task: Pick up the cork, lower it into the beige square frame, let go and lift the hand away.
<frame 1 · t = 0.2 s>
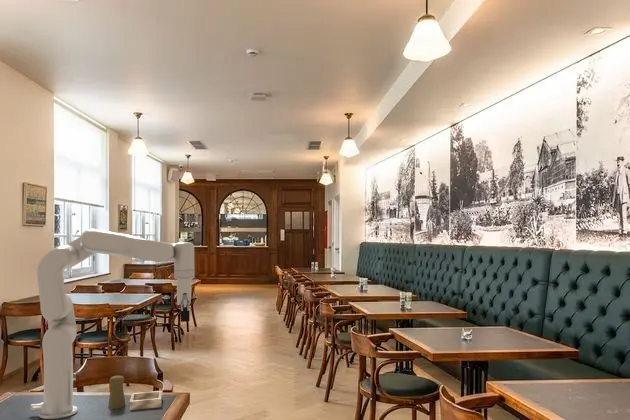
hand: (184, 319, 210), 31 cm above the table, tool pointing down, fingers open, 9 cm apart
cork: (116, 406, 205), on the table
beige square frame: (146, 404, 206), on the table
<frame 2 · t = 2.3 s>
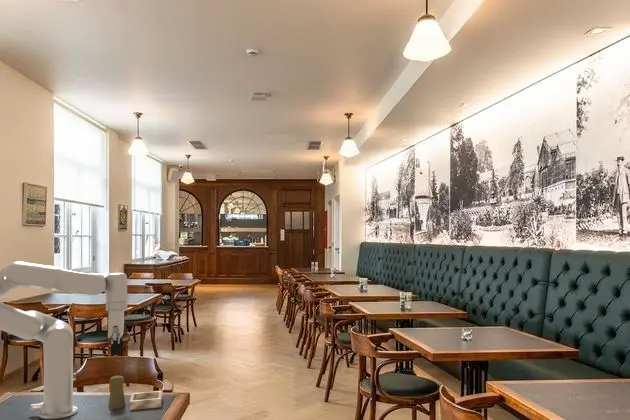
hand: (117, 352, 206), 20 cm above the table, tool pointing down, fingers open, 9 cm apart
nothing on the table moved.
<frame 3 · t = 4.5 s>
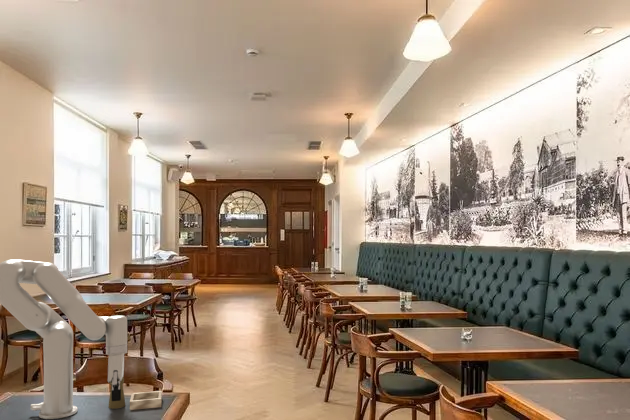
hand: (116, 398, 205), 3 cm above the table, tool pointing down, fingers closed on cork, 4 cm apart
cork: (116, 406, 205), on the table, touching gripper
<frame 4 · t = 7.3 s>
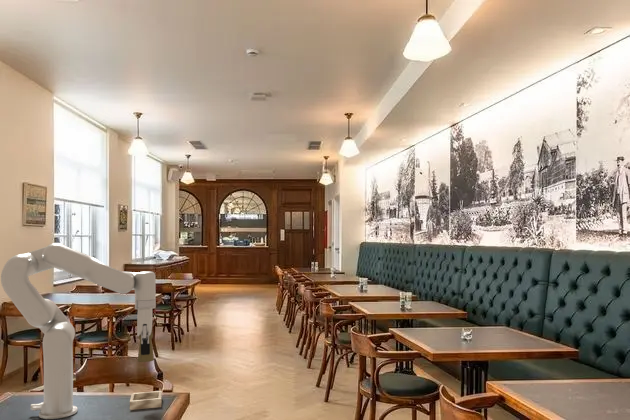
hand: (145, 352, 207), 19 cm above the table, tool pointing down, fingers closed on cork, 4 cm apart
cork: (145, 360, 207), point 16 cm above the table, touching gripper
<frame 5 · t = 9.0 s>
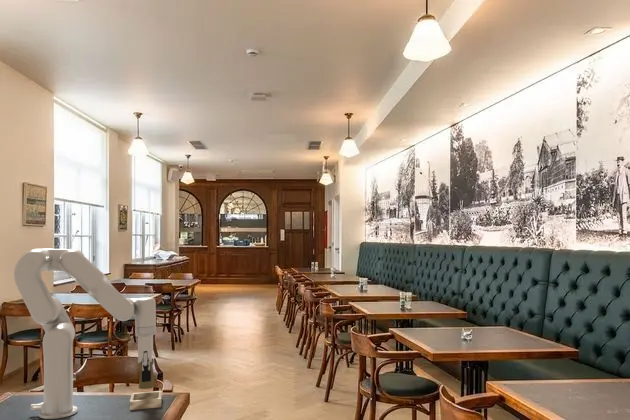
hand: (146, 379, 207), 9 cm above the table, tool pointing down, fingers closed on cork, 4 cm apart
cork: (146, 387, 207), point 6 cm above the table, touching gripper
when the fingers open (4 cm above the table, at t = 10.3 s): cork drops 1 cm, resting in beige square frame.
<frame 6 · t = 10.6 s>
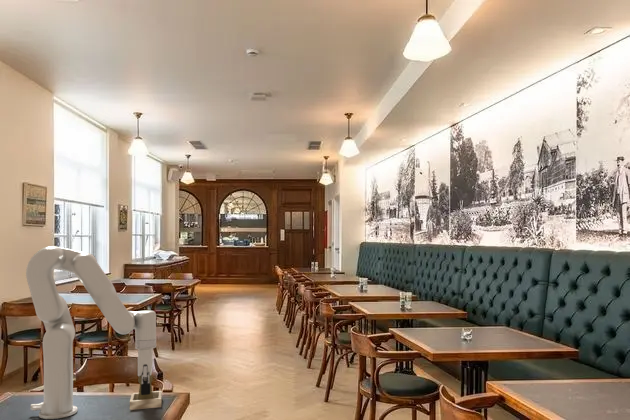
hand: (146, 391, 206), 5 cm above the table, tool pointing down, fingers open, 6 cm apart
cork: (145, 404, 206), resting in beige square frame
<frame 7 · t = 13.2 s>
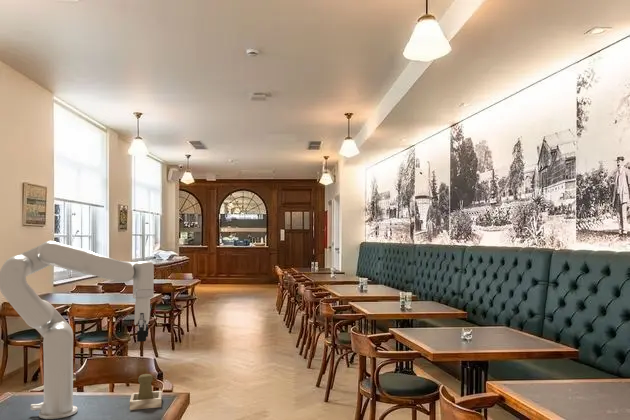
hand: (142, 339, 210), 24 cm above the table, tool pointing down, fingers open, 9 cm apart
nothing on the table moved.
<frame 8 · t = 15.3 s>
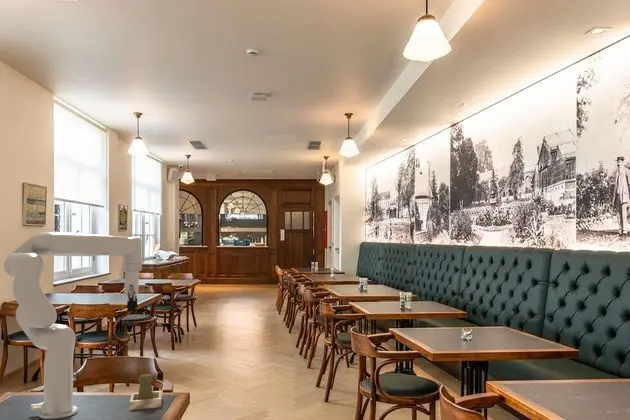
hand: (132, 309, 224), 33 cm above the table, tool pointing down, fingers open, 9 cm apart
nothing on the table moved.
at the end: cork 0.2 cm off-centre on the beige square frame, point 0.0 cm above the beige square frame's base; cork tilted 0°; the gripper is holding nothing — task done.
